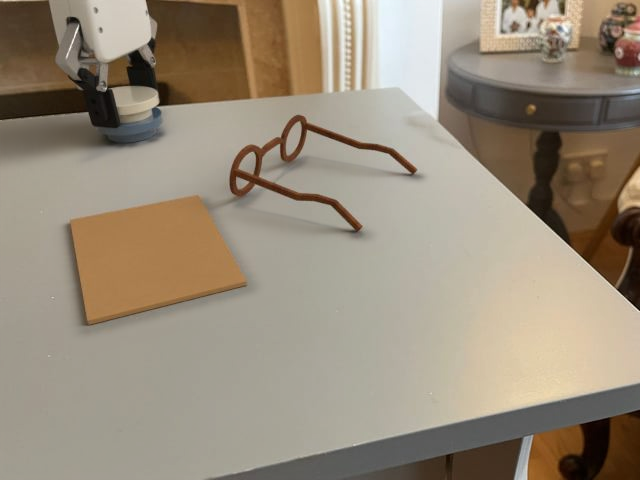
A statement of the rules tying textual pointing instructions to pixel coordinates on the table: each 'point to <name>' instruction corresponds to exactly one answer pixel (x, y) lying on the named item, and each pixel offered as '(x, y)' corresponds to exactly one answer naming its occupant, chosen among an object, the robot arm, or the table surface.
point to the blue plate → (135, 129)
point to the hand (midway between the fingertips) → (127, 112)
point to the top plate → (135, 102)
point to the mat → (150, 258)
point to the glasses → (262, 151)
